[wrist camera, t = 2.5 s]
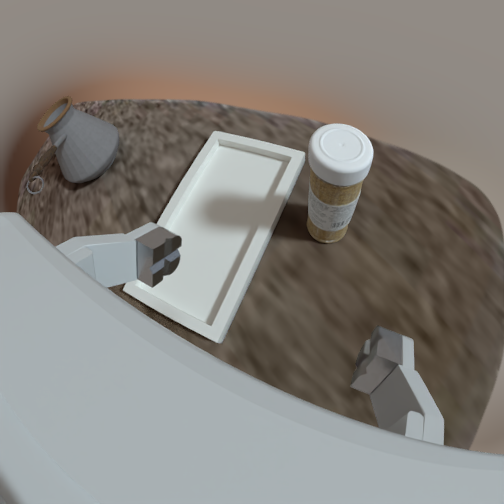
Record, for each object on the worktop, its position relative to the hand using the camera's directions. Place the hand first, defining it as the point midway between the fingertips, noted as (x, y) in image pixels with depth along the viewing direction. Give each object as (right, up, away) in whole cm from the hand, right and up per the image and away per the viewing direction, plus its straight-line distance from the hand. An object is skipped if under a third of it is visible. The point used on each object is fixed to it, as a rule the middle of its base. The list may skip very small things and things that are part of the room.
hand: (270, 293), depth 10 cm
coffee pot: (-24, +12, +28) cm, 39 cm away
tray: (-4, +5, +21) cm, 22 cm away
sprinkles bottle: (+7, +4, +20) cm, 21 cm away
